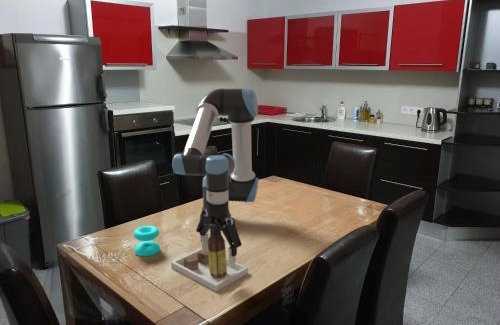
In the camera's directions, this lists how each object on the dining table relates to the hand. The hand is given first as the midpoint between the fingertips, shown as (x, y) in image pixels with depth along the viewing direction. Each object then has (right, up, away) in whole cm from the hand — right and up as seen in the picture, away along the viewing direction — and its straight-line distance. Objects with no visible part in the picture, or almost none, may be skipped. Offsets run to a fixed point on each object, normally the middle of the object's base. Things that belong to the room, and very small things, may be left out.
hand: (218, 257), depth 138 cm
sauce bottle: (0, -7, +2) cm, 7 cm away
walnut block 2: (-6, -4, +11) cm, 13 cm away
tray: (-4, -7, +5) cm, 9 cm away
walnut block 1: (-11, -6, +6) cm, 13 cm away
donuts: (-30, -3, +20) cm, 36 cm away
